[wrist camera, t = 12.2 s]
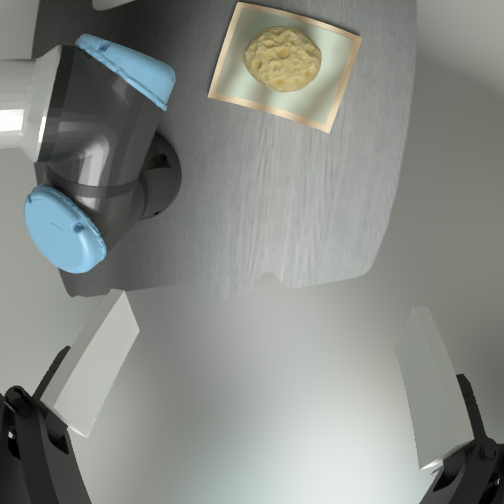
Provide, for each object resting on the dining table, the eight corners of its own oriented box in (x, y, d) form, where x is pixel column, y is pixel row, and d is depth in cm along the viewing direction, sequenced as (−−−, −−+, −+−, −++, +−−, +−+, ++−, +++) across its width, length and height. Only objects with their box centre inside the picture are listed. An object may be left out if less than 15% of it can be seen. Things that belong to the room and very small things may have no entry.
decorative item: (309, 46, 32) (286, 0, 23) (342, 87, 30) (326, 38, 21) (254, 73, 36) (221, 34, 27) (279, 118, 34) (246, 77, 25)
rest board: (209, 97, 36) (207, 97, 35) (239, 4, 28) (237, 1, 26) (327, 132, 37) (329, 133, 36) (360, 39, 28) (362, 37, 27)
